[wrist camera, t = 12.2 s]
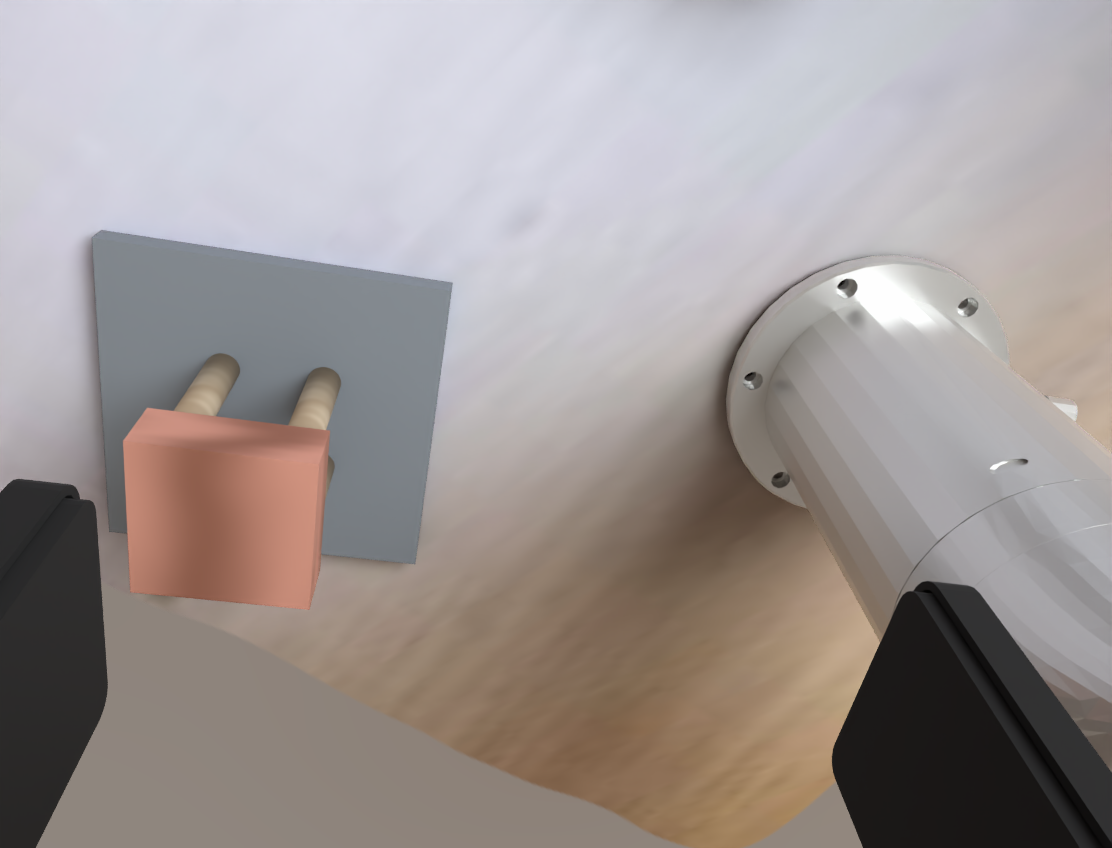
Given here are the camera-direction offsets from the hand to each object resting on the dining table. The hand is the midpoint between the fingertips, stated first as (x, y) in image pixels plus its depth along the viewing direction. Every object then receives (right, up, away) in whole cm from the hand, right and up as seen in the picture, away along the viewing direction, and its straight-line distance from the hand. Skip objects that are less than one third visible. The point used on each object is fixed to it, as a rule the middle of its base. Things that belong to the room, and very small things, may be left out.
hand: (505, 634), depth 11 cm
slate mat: (-12, +3, +30) cm, 32 cm away
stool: (-12, +3, +29) cm, 31 cm away
